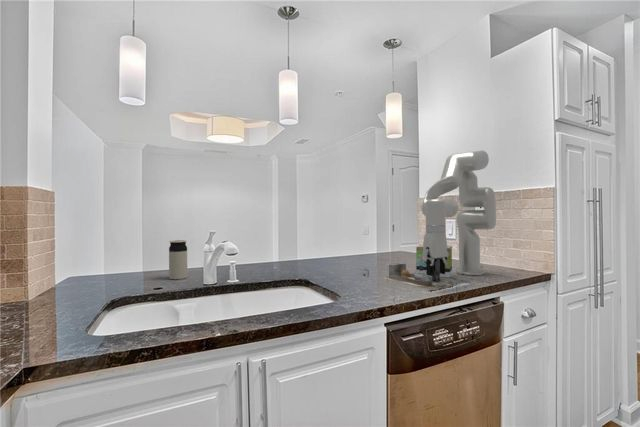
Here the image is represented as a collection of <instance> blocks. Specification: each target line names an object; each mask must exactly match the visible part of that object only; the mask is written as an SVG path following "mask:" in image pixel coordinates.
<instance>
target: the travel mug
mask: <svg viewBox="0 0 640 427" xmlns="http://www.w3.org/2000/svg"><path fill="white" fill-rule="evenodd" d="M186 243H187V240H185V239H184V240H183V239H182V240H179V239H178V240H170V241H169V245H170V246H169V247H168V270H169V271H168V272H169V273H168V279H169V280H172V279H179V280H184V279H183V278H185V279H187V278H188V246H187V244H186Z"/></svg>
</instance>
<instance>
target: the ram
mask: <svg viewBox="0 0 640 427" xmlns="http://www.w3.org/2000/svg"><path fill="white" fill-rule="evenodd" d="M433 266H434V276H431V277H432V278H429V277H430V276H429V275H427V274H426V273H416V272H415V273H414V274H415V279H416V280H421V281H426V282H430V286H435V287H438V288H440V287H439V286H443V287H445V286H444V285H448V283H449V281H448V280H446V279H443V280H441V277H440V258H437V259H434V263H433ZM448 286H449V285H448Z"/></svg>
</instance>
